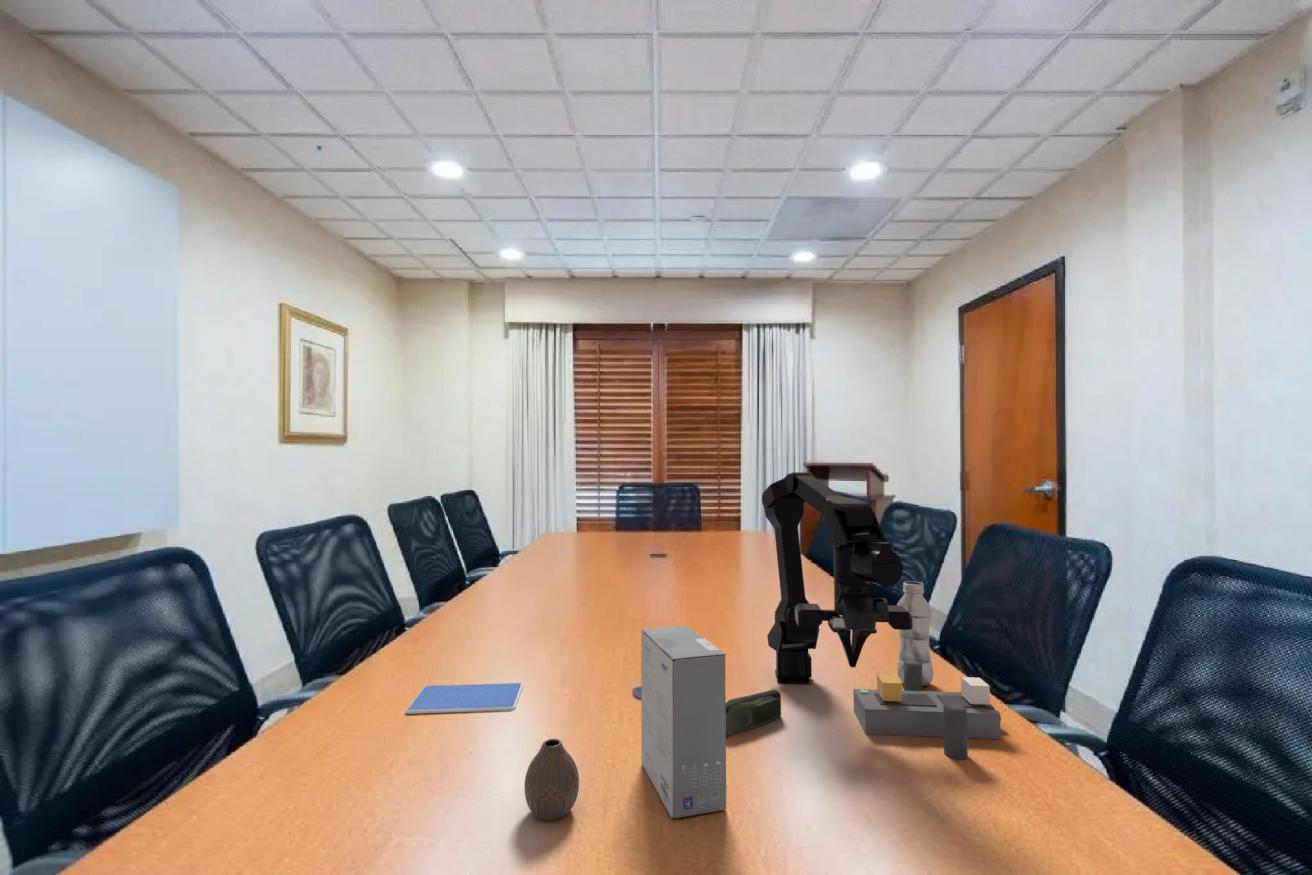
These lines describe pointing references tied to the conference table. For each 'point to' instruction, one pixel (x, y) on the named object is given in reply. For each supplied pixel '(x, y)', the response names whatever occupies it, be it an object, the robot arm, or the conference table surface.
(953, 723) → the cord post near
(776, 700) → the dark green rounded bar
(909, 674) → the cylinder
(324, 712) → the conference table surface
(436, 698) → the tablet computer
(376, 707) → the conference table surface
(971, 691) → the toggle ivory
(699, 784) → the hard drive box
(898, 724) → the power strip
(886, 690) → the toggle amber
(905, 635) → the plastic bottle
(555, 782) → the vase
